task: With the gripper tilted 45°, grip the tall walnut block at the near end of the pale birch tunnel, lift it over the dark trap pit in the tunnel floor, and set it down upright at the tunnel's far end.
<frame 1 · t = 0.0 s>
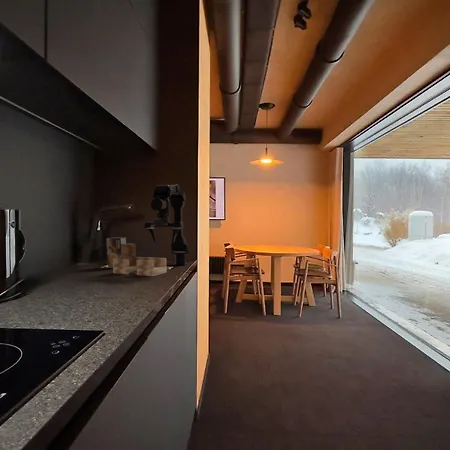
hand: (164, 242, 193), 15 cm above the counter, tool pointing down, fingers open, 9 cm apart
tunnel deck: (139, 272, 194), on the counter
coffee box: (117, 267, 215), on the counter
walnut block: (128, 266, 197), point 3 cm above the counter, touching tunnel deck
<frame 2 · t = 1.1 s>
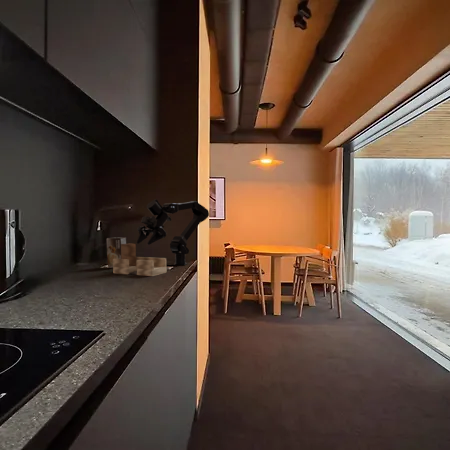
hand: (142, 243, 203), 13 cm above the counter, tool tilted 45°, fingers open, 9 cm apart
nothing on the counter moved.
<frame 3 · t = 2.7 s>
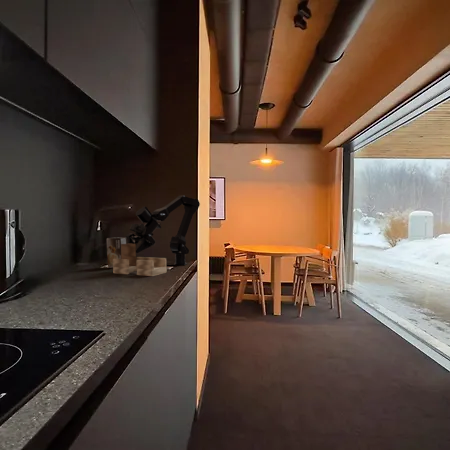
hand: (130, 251, 197), 10 cm above the counter, tool tilted 45°, fingers open, 9 cm apart
nothing on the counter moved.
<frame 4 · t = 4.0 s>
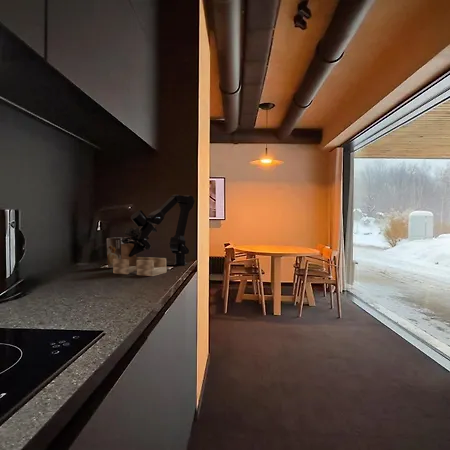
hand: (126, 256, 195), 8 cm above the counter, tool tilted 45°, fingers closed on walnut block, 5 cm apart
walnut block: (128, 266, 197), point 3 cm above the counter, touching gripper, tunnel deck
everything else where it was.
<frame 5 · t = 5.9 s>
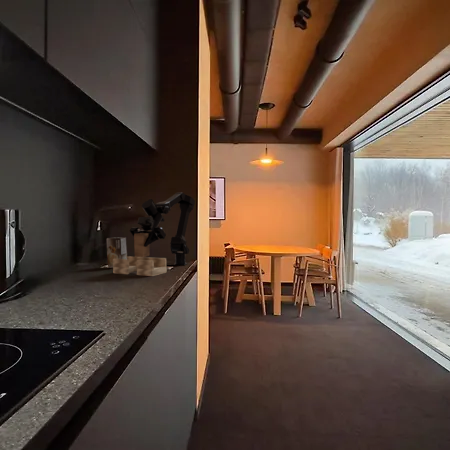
hand: (140, 246, 191), 13 cm above the counter, tool tilted 45°, fingers closed on walnut block, 5 cm apart
walnut block: (142, 256, 192), point 8 cm above the counter, touching gripper
everything else where it was.
when the fingers open (9 cm above the counter, at t = 7.6 s): walnut block drops 1 cm, resting on tunnel deck.
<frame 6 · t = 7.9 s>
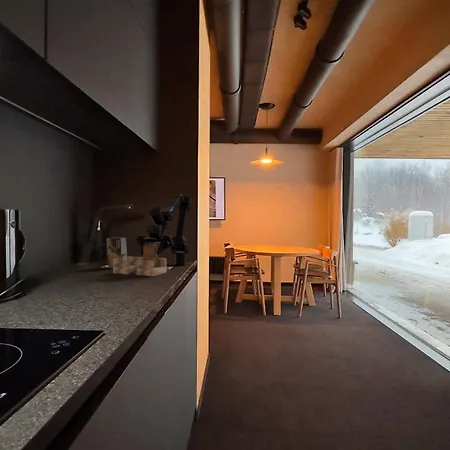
hand: (149, 254, 189), 10 cm above the counter, tool tilted 45°, fingers open, 8 cm apart
walnut block: (150, 267, 191), point 3 cm above the counter, touching tunnel deck
everything else where it was.
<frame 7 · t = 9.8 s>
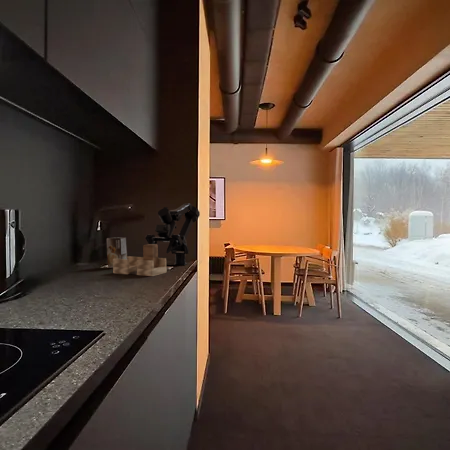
hand: (158, 252, 198), 9 cm above the counter, tool tilted 45°, fingers open, 9 cm apart
nothing on the counter moved.
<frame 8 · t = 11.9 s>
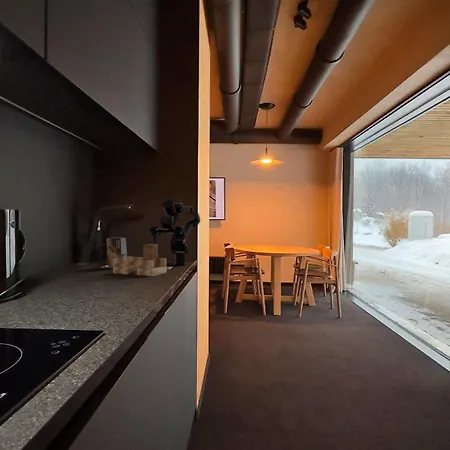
hand: (162, 243, 201), 14 cm above the counter, tool tilted 45°, fingers open, 9 cm apart
nothing on the counter moved.
at the end: walnut block 0.0 cm from the target spot, point 3.0 cm above the counter; walnut block tilted 0°; the gripper is holding nothing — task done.
